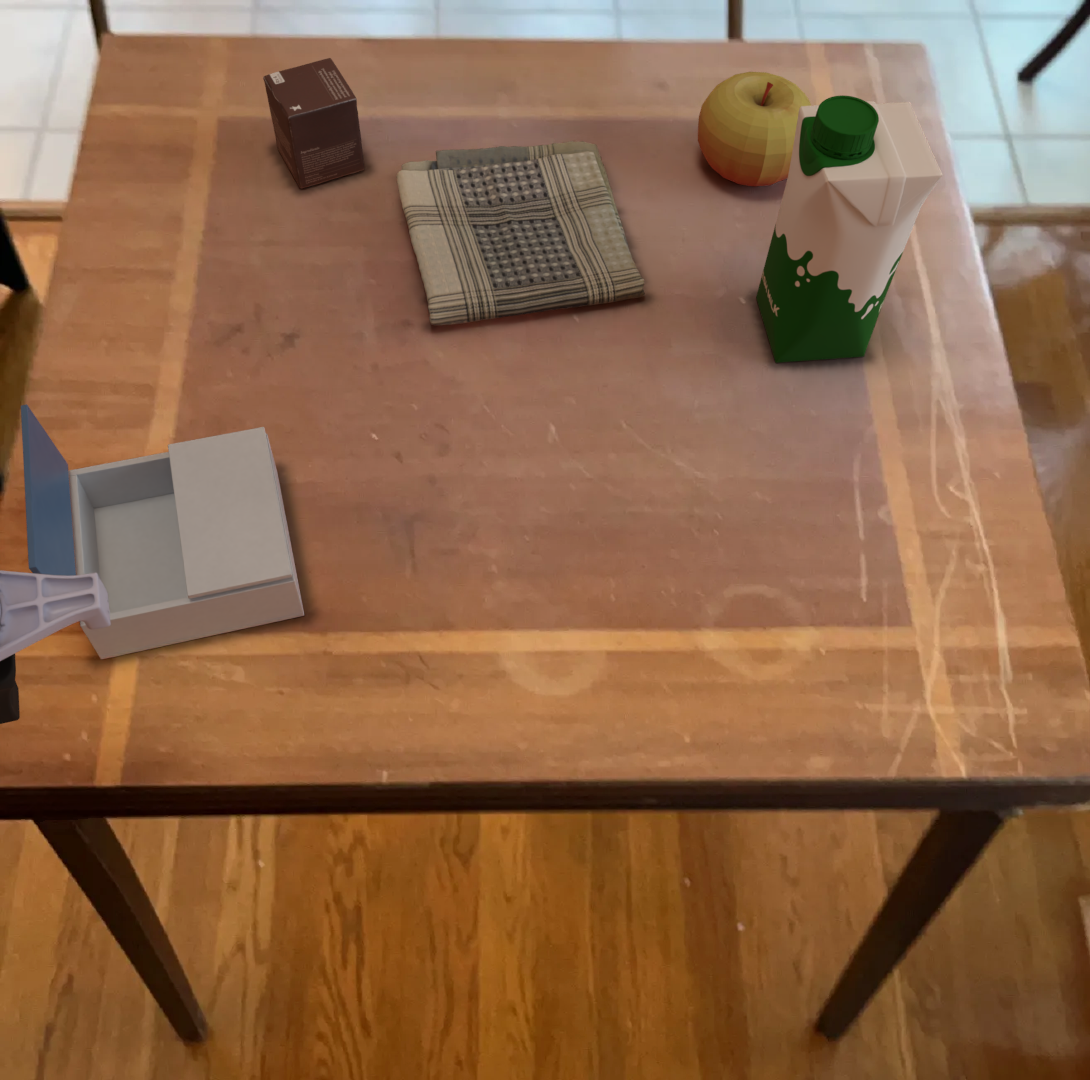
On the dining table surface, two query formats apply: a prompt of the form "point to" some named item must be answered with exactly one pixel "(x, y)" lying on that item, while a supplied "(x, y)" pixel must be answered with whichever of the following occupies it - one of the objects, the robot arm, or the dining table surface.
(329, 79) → the box
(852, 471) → the dining table surface
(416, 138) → the dining table surface
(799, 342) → the milk carton
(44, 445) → the flap
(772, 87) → the apple
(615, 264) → the dish towel
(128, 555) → the carton
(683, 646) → the dining table surface
